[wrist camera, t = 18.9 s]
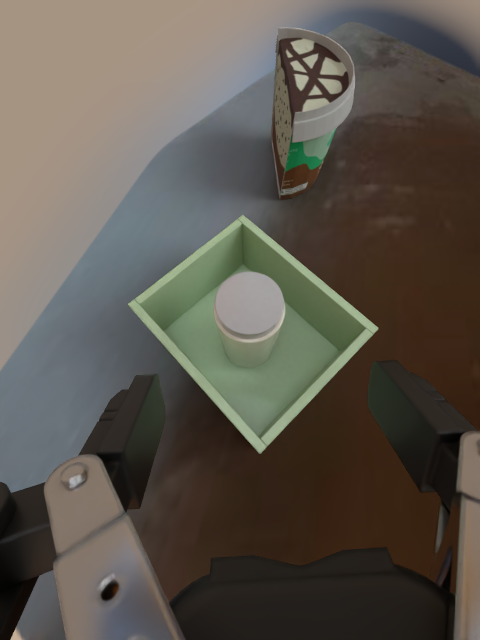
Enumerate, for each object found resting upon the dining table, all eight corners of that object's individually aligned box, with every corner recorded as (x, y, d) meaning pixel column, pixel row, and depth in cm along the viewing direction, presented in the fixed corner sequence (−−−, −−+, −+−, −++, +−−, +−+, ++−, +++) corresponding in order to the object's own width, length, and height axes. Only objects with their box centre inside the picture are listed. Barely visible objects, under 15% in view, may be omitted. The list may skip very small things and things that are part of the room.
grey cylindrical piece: (249, 308, 27) (250, 255, 19) (285, 343, 26) (303, 302, 18) (211, 341, 26) (195, 300, 18) (247, 379, 25) (248, 353, 17)
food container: (338, 207, 32) (377, 112, 22) (281, 211, 32) (296, 117, 22) (319, 127, 36) (345, 20, 27) (269, 130, 36) (277, 24, 27)
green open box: (243, 260, 30) (242, 214, 23) (347, 353, 26) (379, 328, 20) (154, 334, 27) (127, 304, 21) (256, 449, 23) (259, 454, 17)
